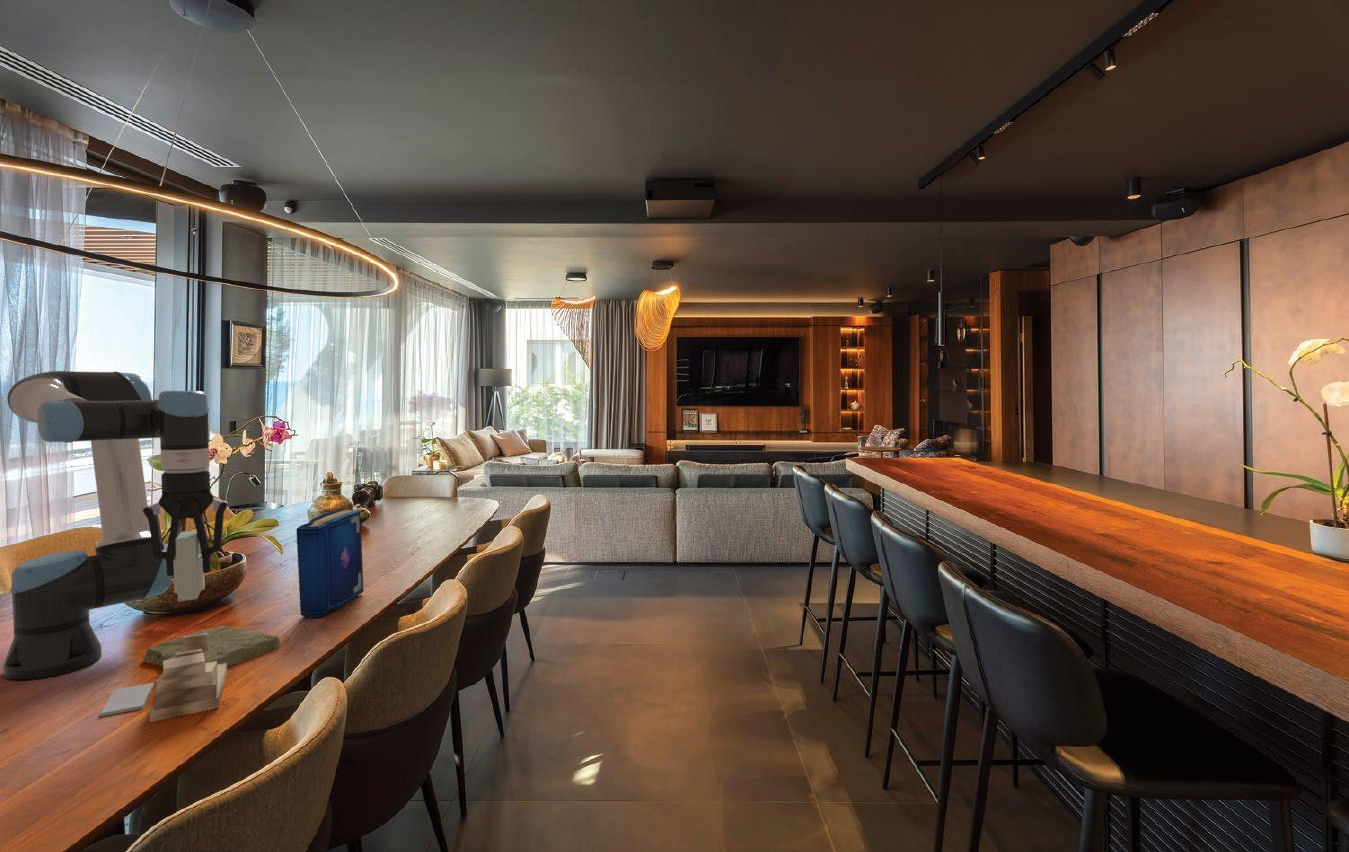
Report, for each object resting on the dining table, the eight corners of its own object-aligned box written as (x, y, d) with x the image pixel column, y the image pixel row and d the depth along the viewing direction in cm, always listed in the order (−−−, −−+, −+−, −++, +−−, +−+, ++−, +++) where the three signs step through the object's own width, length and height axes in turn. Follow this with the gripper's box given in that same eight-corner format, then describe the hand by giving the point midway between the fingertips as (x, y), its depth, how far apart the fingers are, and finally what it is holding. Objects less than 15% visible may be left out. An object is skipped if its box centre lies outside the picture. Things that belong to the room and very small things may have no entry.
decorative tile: (222, 636, 157) (222, 622, 157) (281, 648, 149) (280, 633, 149) (134, 666, 140) (133, 650, 139) (195, 681, 132) (194, 664, 132)
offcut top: (163, 680, 115) (163, 669, 115) (163, 671, 119) (163, 660, 119) (205, 671, 119) (205, 660, 119) (203, 662, 123) (203, 652, 123)
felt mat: (100, 716, 117) (100, 713, 117) (114, 692, 126) (114, 689, 126) (143, 708, 120) (143, 705, 120) (153, 685, 129) (153, 682, 129)
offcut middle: (157, 693, 116) (157, 679, 116) (165, 682, 120) (165, 668, 120) (212, 684, 119) (211, 671, 119) (217, 674, 124) (217, 661, 124)
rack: (149, 722, 115) (147, 671, 114) (166, 683, 130) (164, 638, 130) (218, 708, 120) (217, 660, 119) (227, 672, 135) (225, 629, 135)
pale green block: (177, 601, 123) (175, 538, 123) (183, 591, 129) (180, 531, 129) (197, 598, 125) (195, 537, 124) (201, 589, 131) (199, 530, 130)
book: (322, 620, 167) (319, 523, 165) (295, 620, 167) (292, 523, 165) (364, 594, 188) (362, 508, 187) (340, 594, 188) (338, 508, 187)
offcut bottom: (153, 710, 115) (153, 696, 115) (157, 697, 120) (157, 684, 120) (216, 697, 120) (215, 684, 120) (217, 685, 125) (216, 672, 125)
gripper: (128, 475, 119) (133, 601, 120) (234, 470, 127) (238, 588, 128) (136, 470, 125) (141, 590, 126) (237, 466, 133) (240, 579, 134)
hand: (189, 589), depth 127 cm, fingers closed on pale green block, 3 cm apart
